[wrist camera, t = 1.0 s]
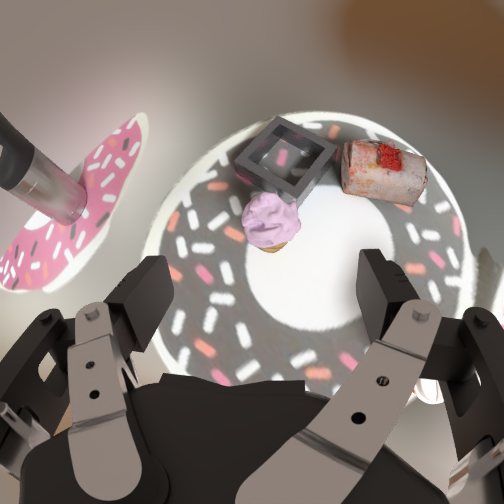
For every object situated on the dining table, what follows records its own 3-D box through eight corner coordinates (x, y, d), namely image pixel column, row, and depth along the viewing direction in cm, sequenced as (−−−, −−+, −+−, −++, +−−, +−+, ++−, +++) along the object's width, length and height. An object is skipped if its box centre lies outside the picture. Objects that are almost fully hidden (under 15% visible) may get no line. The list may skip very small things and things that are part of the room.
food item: (336, 198, 44) (347, 165, 35) (338, 159, 46) (347, 122, 37) (412, 212, 42) (437, 185, 32) (409, 173, 44) (430, 141, 34)
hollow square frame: (237, 173, 47) (233, 161, 43) (278, 129, 49) (277, 115, 45) (296, 210, 44) (297, 199, 40) (334, 160, 46) (337, 146, 42)
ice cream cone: (289, 223, 44) (289, 171, 29) (303, 260, 42) (311, 222, 27) (248, 237, 44) (229, 190, 29) (260, 275, 42) (247, 244, 28)
